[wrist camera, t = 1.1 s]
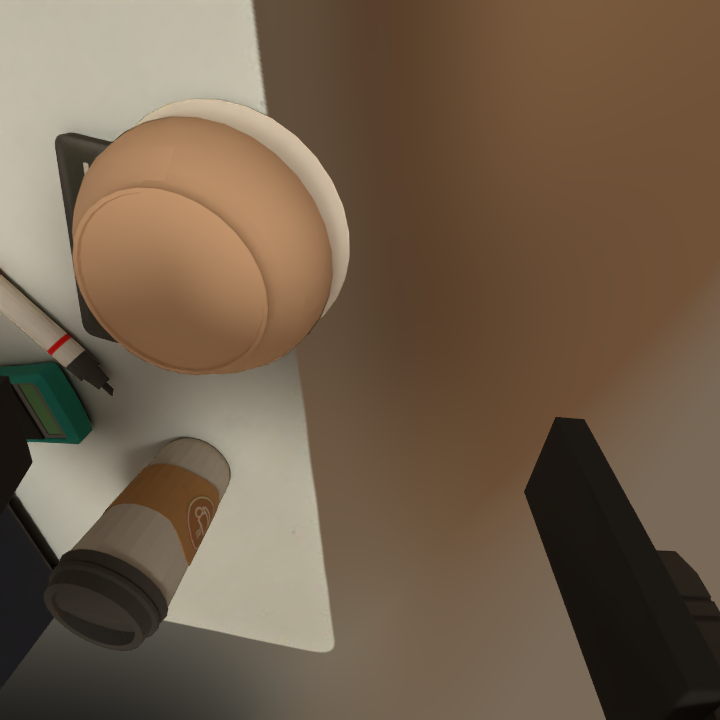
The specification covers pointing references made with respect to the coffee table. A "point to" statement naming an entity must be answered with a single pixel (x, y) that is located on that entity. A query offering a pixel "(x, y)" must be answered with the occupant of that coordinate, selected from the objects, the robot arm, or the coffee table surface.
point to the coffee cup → (139, 548)
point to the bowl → (208, 238)
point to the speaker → (20, 593)
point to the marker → (50, 336)
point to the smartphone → (73, 165)
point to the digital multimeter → (47, 404)
